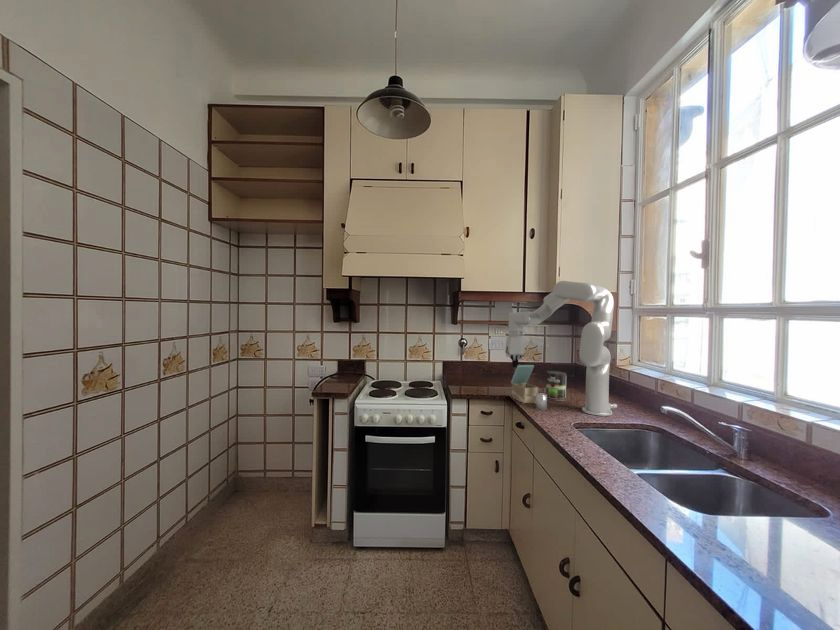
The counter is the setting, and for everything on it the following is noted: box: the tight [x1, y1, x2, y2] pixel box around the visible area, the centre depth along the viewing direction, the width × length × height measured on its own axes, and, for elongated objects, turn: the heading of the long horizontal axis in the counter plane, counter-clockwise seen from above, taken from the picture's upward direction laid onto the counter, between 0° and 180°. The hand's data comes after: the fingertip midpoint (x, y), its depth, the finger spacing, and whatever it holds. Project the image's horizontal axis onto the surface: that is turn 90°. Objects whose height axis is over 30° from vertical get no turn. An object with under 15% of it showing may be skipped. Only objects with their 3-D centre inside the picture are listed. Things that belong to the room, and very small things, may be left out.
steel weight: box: [535, 392, 548, 410], centre depth 165 cm, size 5×5×7 cm
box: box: [511, 382, 540, 404], centre depth 180 cm, size 9×12×8 cm
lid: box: [510, 364, 535, 385], centre depth 183 cm, size 9×12×1 cm
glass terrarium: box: [545, 370, 567, 399], centre depth 186 cm, size 10×10×14 cm
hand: (515, 367), depth 190 cm, fingers closed
